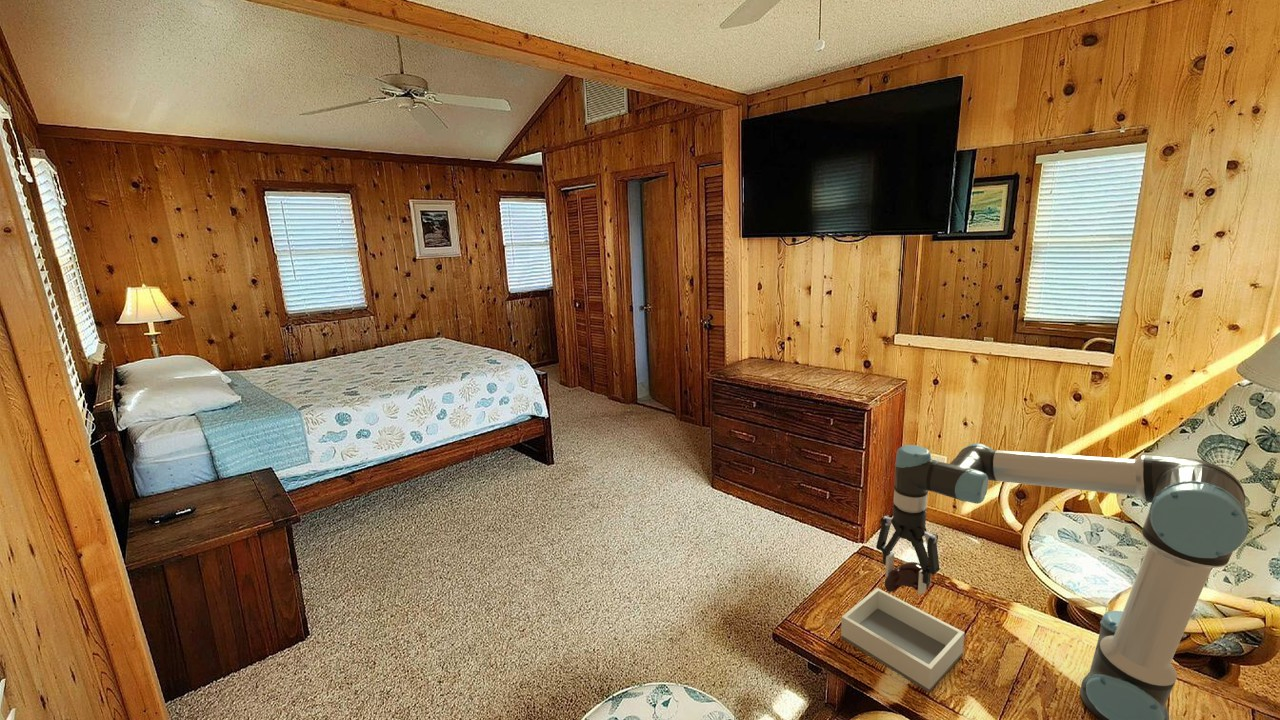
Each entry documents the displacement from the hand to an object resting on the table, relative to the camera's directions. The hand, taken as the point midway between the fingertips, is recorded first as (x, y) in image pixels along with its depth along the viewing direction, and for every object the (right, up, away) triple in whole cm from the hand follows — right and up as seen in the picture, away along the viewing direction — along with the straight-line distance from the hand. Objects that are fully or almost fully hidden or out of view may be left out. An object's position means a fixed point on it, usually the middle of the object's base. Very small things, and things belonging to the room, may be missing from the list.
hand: (905, 583), depth 141 cm
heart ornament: (+1, -1, +2) cm, 3 cm away
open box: (+1, -19, +5) cm, 19 cm away
